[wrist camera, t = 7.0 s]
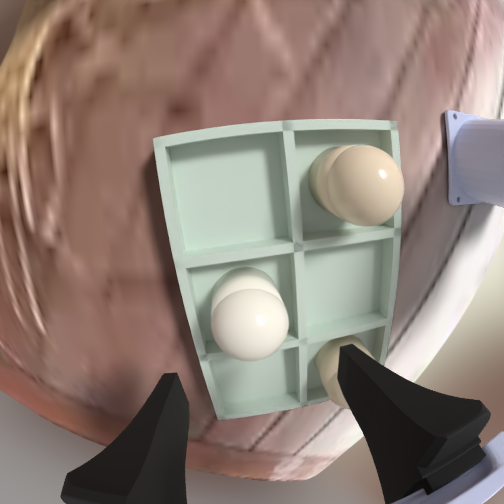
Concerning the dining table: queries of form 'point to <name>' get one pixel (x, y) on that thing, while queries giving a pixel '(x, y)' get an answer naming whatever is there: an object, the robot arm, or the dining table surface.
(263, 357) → the cream egg
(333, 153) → the tan egg
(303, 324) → the egg tray
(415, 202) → the dining table surface
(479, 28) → the dining table surface
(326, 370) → the tan egg
